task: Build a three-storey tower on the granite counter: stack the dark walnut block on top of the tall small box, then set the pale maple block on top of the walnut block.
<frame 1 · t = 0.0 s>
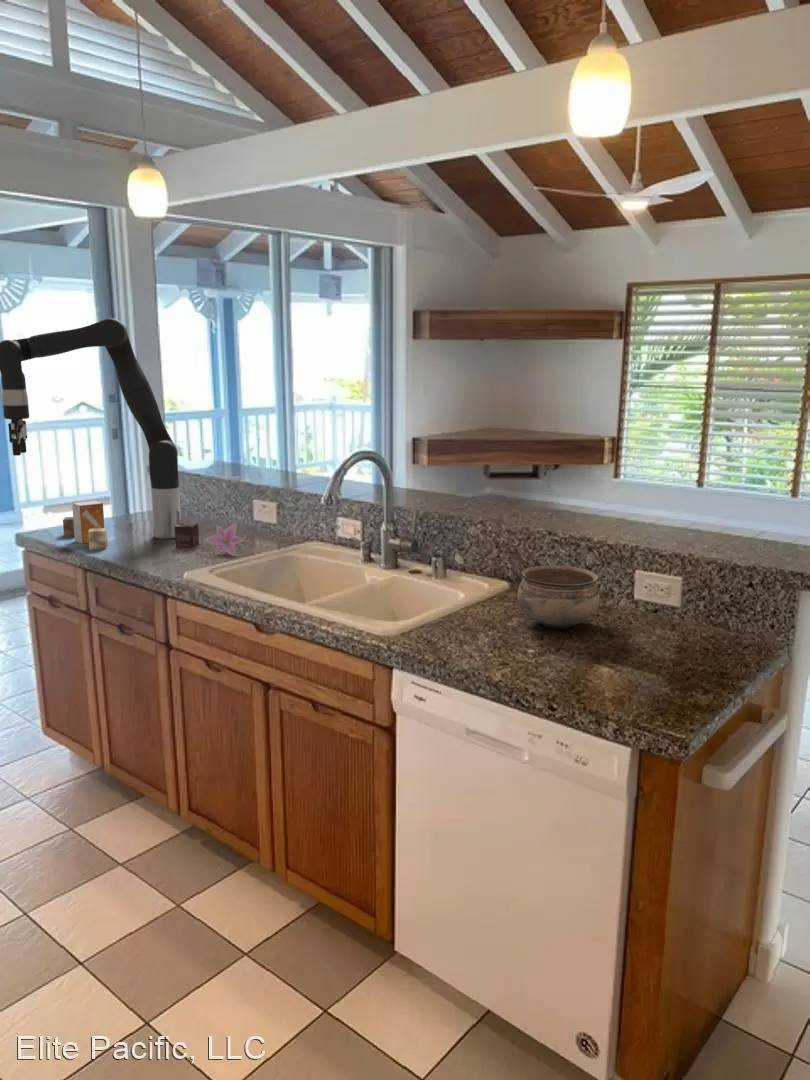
hand: (19, 454, 263), 29 cm above the worktop, tool pointing down, fingers open, 8 cm apart
lily: (225, 553, 256), on the worktop
cooking pot: (556, 625, 189), on the worktop
box: (187, 546, 265), on the worktop
maple block: (98, 547, 261), on the worktop
small box: (90, 541, 271), on the worktop
walnut block: (73, 535, 280), on the worktop
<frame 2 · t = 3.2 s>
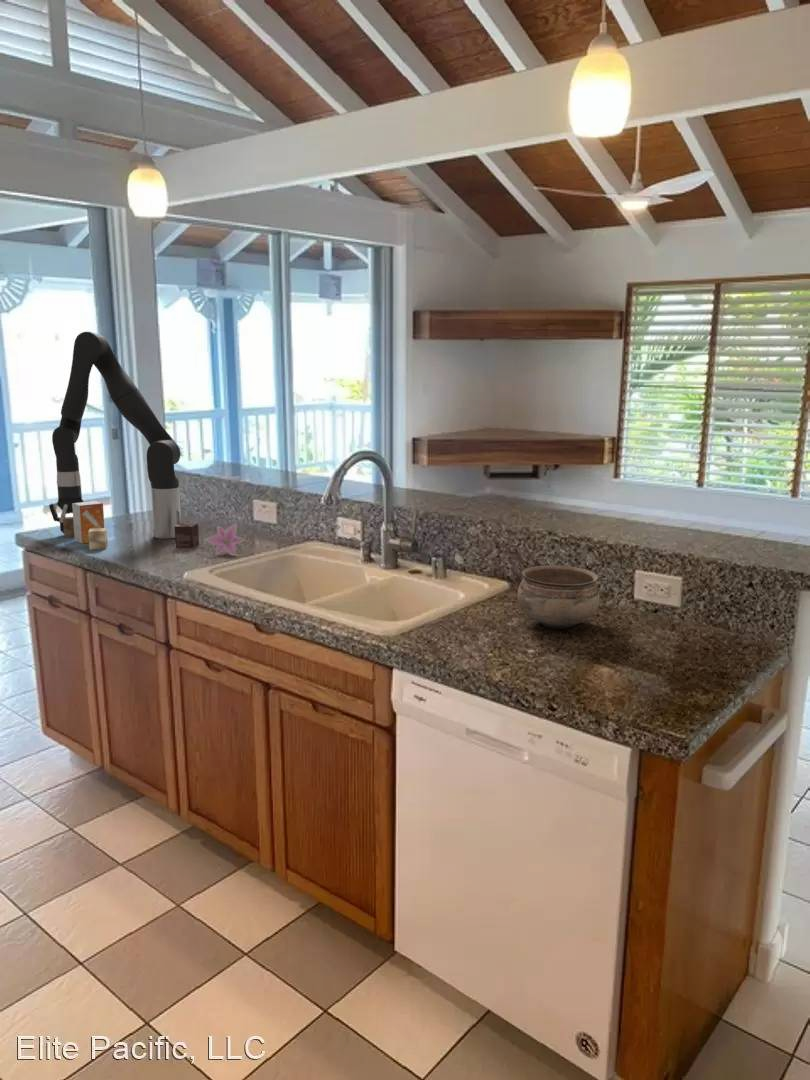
hand: (72, 532, 279), 1 cm above the worktop, tool pointing down, fingers closed on walnut block, 5 cm apart
walnut block: (73, 535, 280), on the worktop, touching gripper
everything else where it was.
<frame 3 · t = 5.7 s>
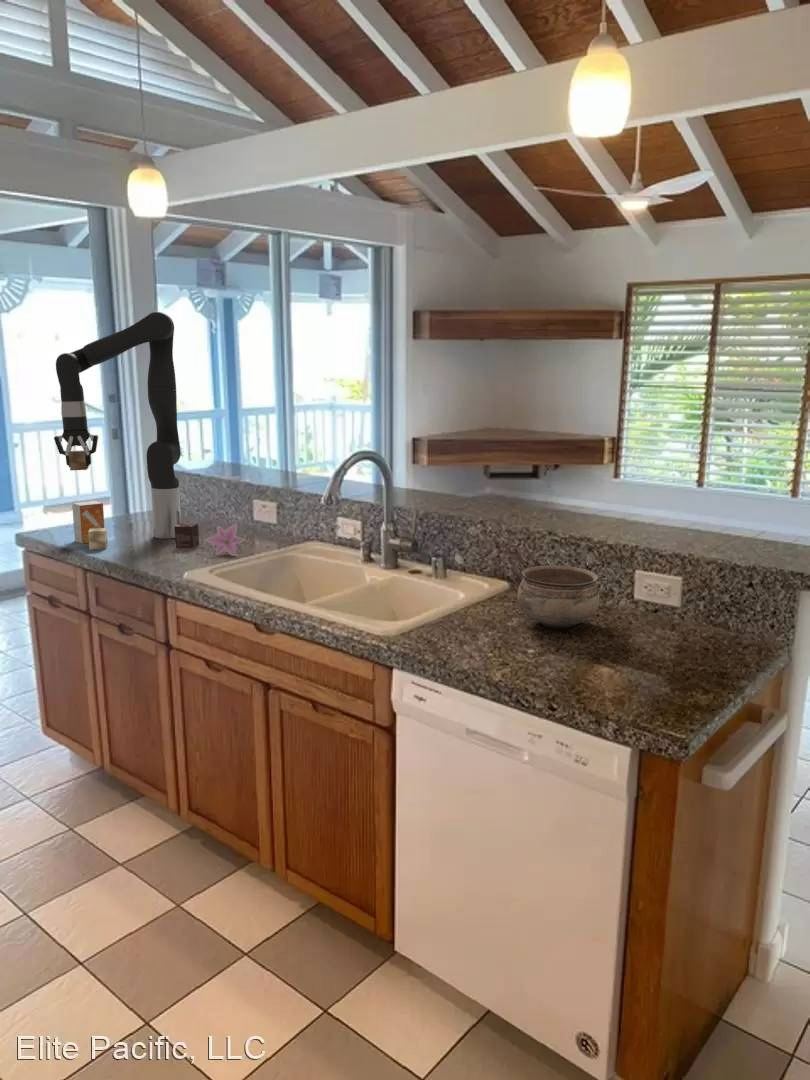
hand: (79, 466, 269), 25 cm above the worktop, tool pointing down, fingers closed on walnut block, 5 cm apart
walnut block: (79, 469, 269), point 24 cm above the worktop, touching gripper
everything else where it was.
when the fingers open (15 cm above the worktop, at t = 8.4 s): walnut block stays where it is, resting on small box.
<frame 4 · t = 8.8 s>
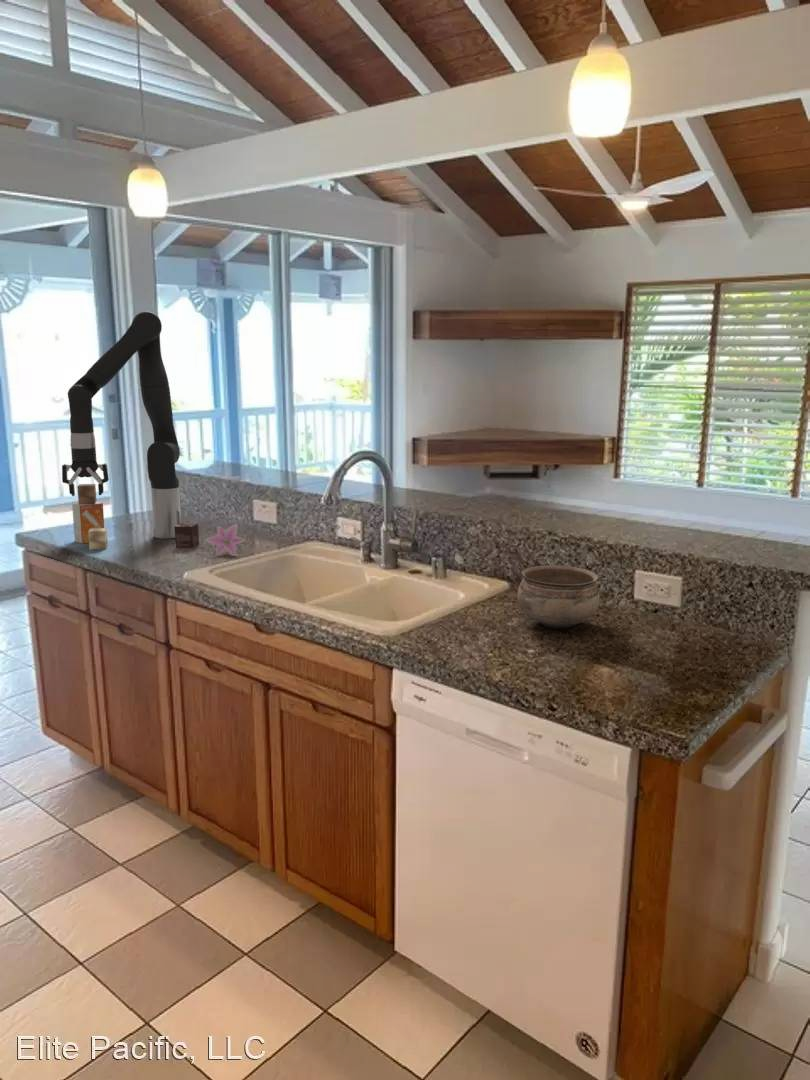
hand: (86, 495, 267), 16 cm above the worktop, tool pointing down, fingers open, 8 cm apart
small box: (90, 541, 271), on the worktop, touching walnut block
walnut block: (87, 502, 268), point 13 cm above the worktop, touching small box
everything else where it was.
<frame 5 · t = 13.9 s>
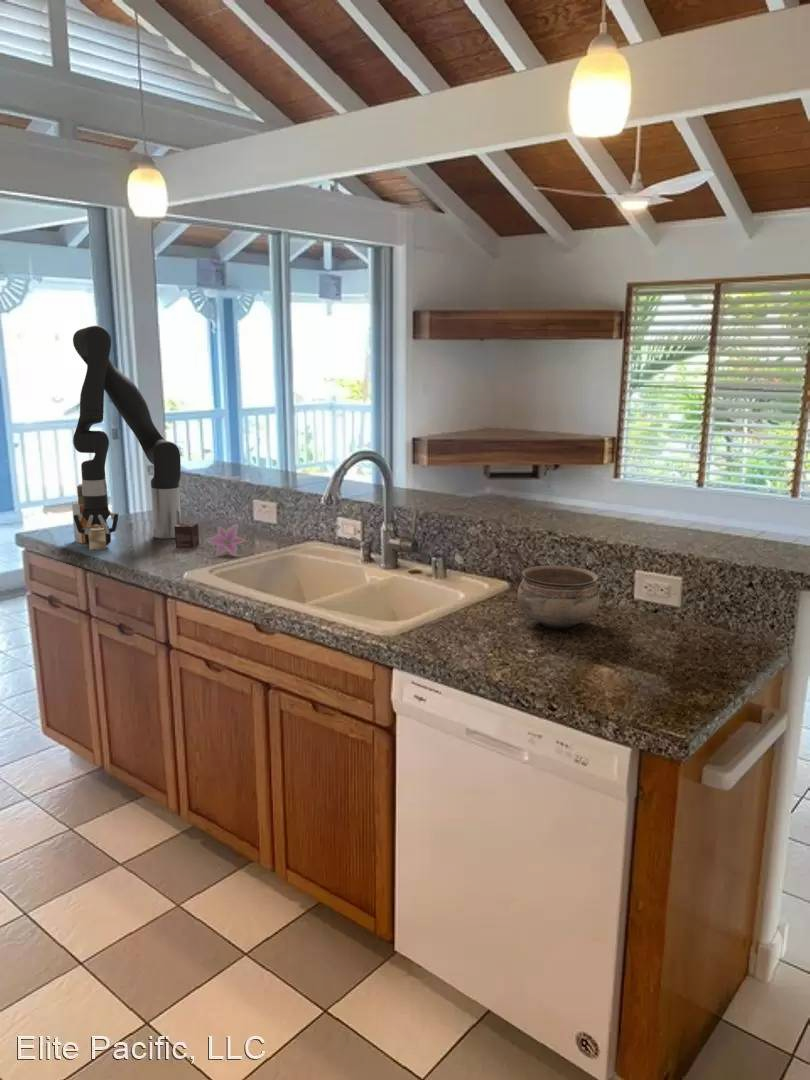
hand: (98, 544, 261), 1 cm above the worktop, tool pointing down, fingers closed on maple block, 5 cm apart
maple block: (98, 547, 261), on the worktop, touching gripper
everything else where it was.
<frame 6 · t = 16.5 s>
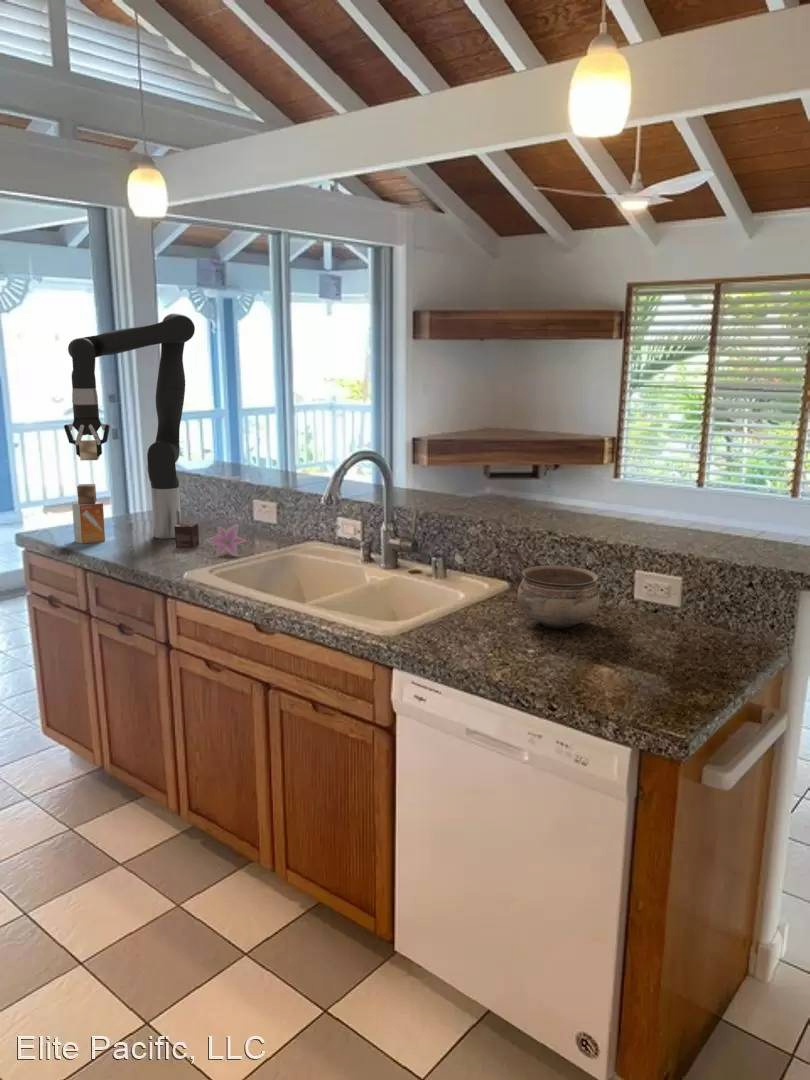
hand: (89, 456, 258), 29 cm above the worktop, tool pointing down, fingers closed on maple block, 5 cm apart
maple block: (89, 459, 258), point 28 cm above the worktop, touching gripper
when the fingers open (21 cm above the worktop, at t = 18.9 s): maple block stays where it is, resting on walnut block.
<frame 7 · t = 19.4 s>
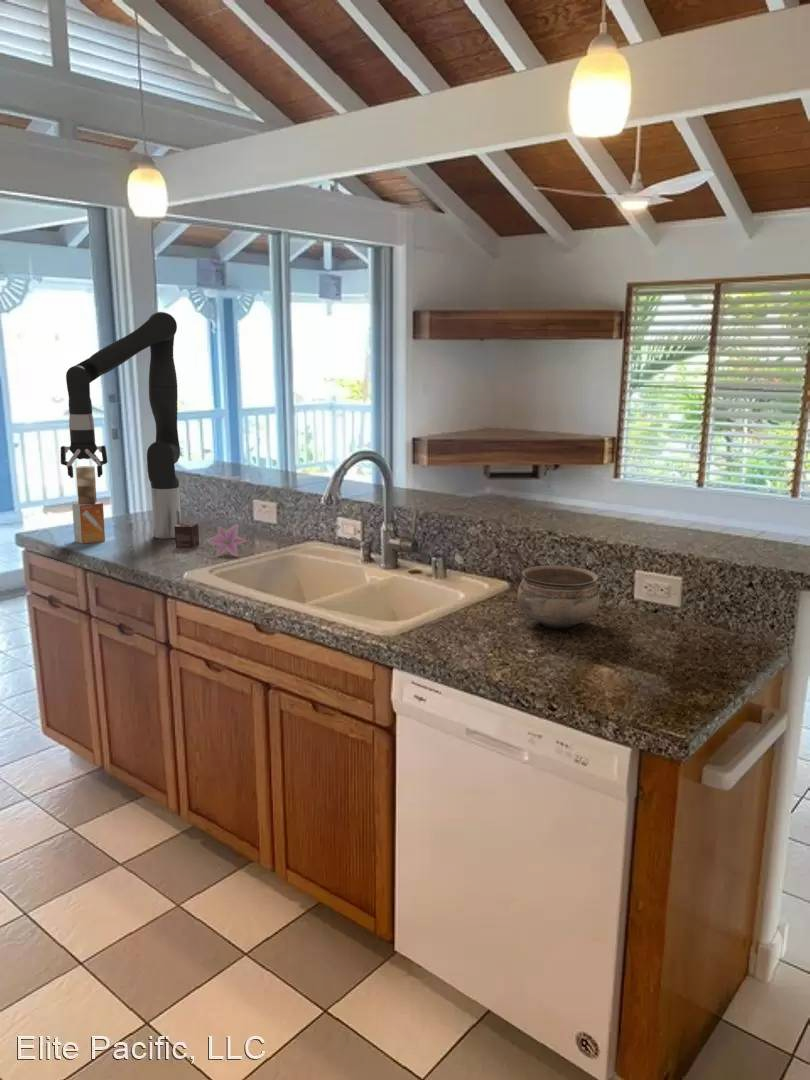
hand: (85, 477, 266), 22 cm above the worktop, tool pointing down, fingers open, 8 cm apart
maple block: (86, 485, 267), point 19 cm above the worktop, touching walnut block
walnut block: (87, 502, 268), point 13 cm above the worktop, touching maple block, small box
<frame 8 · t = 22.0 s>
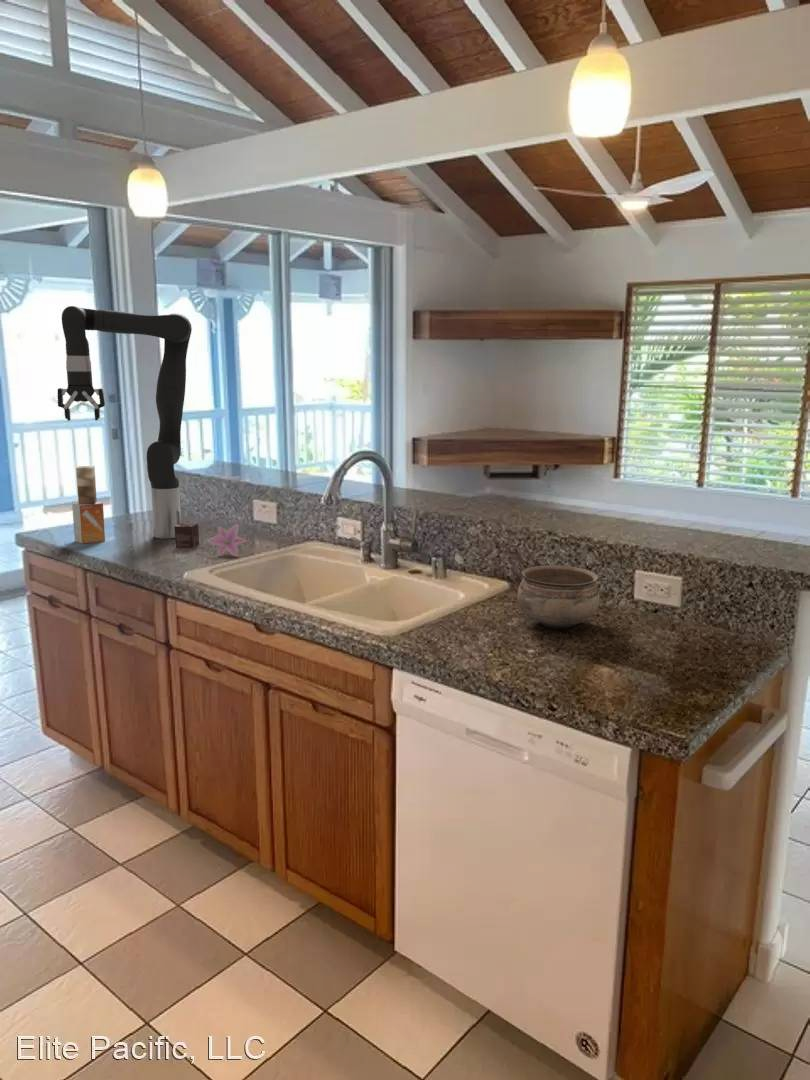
hand: (82, 420, 265), 40 cm above the worktop, tool pointing down, fingers open, 8 cm apart
at the end: walnut block inside the target area on the small box (0.1 cm from its centre), point 13.2 cm above the small box's base; maple block inside the target area on the small box (0.2 cm from its centre), point 19.2 cm above the small box's base; small box tilted 0° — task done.
